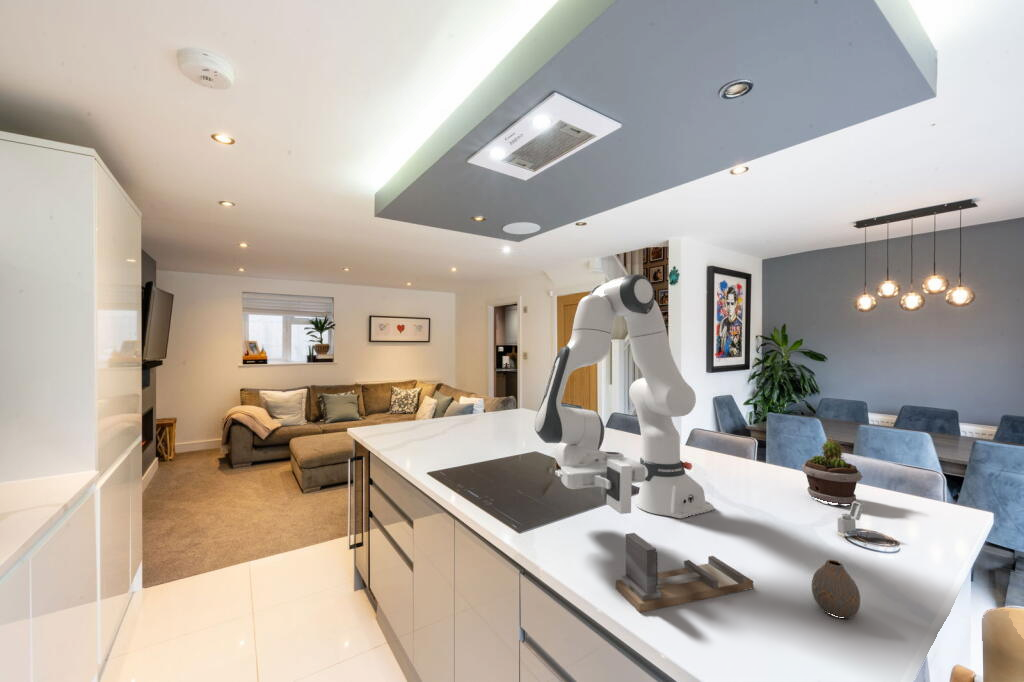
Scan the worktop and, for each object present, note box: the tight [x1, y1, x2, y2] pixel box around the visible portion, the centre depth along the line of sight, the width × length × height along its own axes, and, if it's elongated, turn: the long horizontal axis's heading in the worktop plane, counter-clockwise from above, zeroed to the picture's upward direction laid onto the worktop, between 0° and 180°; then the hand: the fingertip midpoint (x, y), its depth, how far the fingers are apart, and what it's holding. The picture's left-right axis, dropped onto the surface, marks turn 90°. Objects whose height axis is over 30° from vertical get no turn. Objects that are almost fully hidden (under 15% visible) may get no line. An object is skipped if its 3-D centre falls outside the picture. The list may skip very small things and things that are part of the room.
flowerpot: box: [801, 437, 863, 505], centre depth 130 cm, size 14×15×20 cm
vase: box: [811, 559, 861, 619], centre depth 74 cm, size 7×7×9 cm
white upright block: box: [605, 459, 633, 515], centre depth 91 cm, size 3×6×10 cm, turn 16°
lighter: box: [837, 501, 864, 534], centre depth 106 cm, size 7×2×8 cm, turn 107°
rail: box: [615, 532, 754, 613], centre depth 81 cm, size 26×8×10 cm, turn 107°
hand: (620, 484), depth 90 cm, fingers closed on white upright block, 3 cm apart
